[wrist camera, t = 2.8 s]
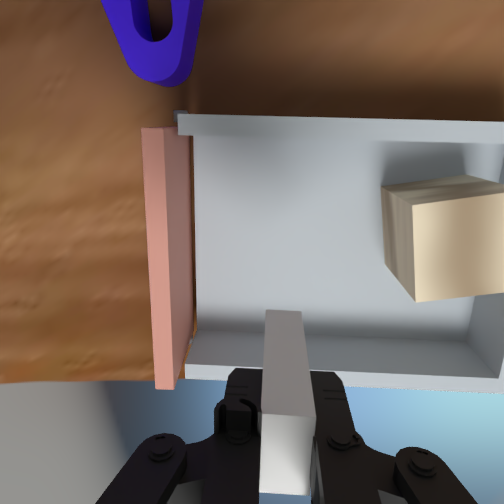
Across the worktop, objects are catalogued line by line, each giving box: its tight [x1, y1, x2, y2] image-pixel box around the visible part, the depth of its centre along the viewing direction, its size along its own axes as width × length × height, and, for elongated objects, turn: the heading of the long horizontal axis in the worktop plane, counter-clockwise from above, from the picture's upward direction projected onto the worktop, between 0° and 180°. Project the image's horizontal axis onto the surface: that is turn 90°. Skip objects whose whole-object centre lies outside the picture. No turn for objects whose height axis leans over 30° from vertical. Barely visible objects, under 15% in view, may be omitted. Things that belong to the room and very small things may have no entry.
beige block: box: [380, 174, 504, 303], centre depth 27 cm, size 6×6×7 cm
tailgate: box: [141, 126, 194, 390], centre depth 28 cm, size 8×16×2 cm
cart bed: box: [173, 110, 504, 394], centre depth 30 cm, size 24×19×8 cm
